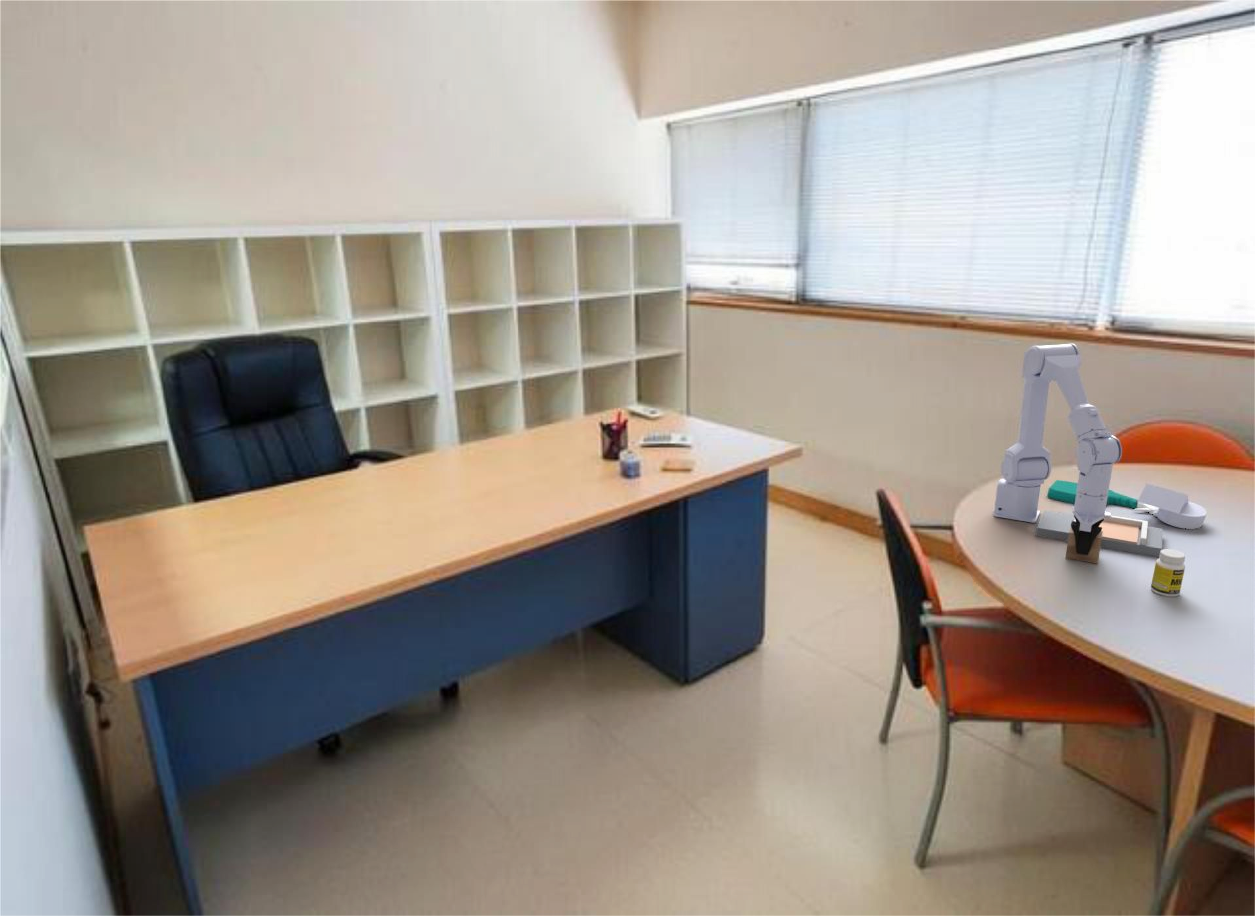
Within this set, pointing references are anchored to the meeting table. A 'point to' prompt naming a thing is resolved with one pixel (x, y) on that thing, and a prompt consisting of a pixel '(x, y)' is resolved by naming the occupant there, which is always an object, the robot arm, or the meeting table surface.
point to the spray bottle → (1068, 494)
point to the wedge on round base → (1173, 507)
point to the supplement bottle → (1168, 573)
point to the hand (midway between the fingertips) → (1083, 549)
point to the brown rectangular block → (1090, 557)
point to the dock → (1108, 532)
